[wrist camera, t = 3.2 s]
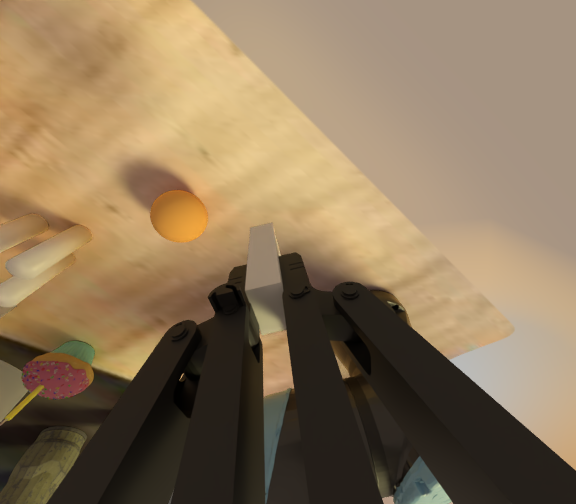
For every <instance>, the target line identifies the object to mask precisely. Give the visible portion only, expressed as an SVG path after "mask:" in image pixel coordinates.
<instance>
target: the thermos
mask: <svg viewBox="0 0 576 504" xmlns="http://www.w3.org/2000/svg"><path fill="white" fill-rule="evenodd" d="M86 439H87V435H86V434H85V433H84V432H83V431H81V430H79V429H76V428H73V427H67V426H54V427H49V428H46V429H44V430H43V431H42V432H41V433H40V434H39V436H38V438H37V439H36V441H35V442H34V443H33V444H32V445H31V446H30V447H29V448H28V449H27V451H26V452H25V454H24V455H23V456H22V458H21V459H20V461H19V462H18V463H17V465H16V466H15V468H14V470H13V471H12V473H11V475H10V477H9V480H8V482H7V484H6V486H5V487H4V488H3V490H2V491H1V493H0V504H46V503H47V502H48V500H49V499H50V497H51V496H52V495H53V493H54V492H55V490H56V489H57V487H58V486H59V485H60V483H61V482H62V480H63V479H64V477H65V476H66V475H67V473H68V472H69V470H70V469H71V467H72V466H73V464H74V462H75V460H76V459H77V457H78V455H79V453H80V449H81V447H82V446H83V444H84V443H85V441H86Z"/></svg>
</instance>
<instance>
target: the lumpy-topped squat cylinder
mask: <svg viewBox="0 0 576 504" xmlns="http://www.w3.org/2000/svg"><path fill="white" fill-rule="evenodd" d="M22 373H23V372H22V371H20V370H19V369H17V368H15V367H14V366H12V365H10V364H8V363H6V362H4V361H2V360H0V422H1V421H2V420H3V419H4V418H5V417H6V415H7V414H8V413H9V412H10V411H11V410H12V409H13V407H14V406H15V405H16V404H17V403H18V402H19V401H20V400H21V398H22V397H23V396H24V395H25V394H26V393H27V392H28V390H27V389H26V388H24V385H23V381H22V379H21V377H22Z"/></svg>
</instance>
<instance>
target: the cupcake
mask: <svg viewBox="0 0 576 504" xmlns="http://www.w3.org/2000/svg"><path fill="white" fill-rule="evenodd" d="M94 355H95V351H94V349H93V348H92V347H91V346H90V345H88V344H87V343H84V342H80V341H70V342H66V343H65V344H63V345H62V346H60V347H59V348H57V349H55V350H54V351H52V352H50V353H46V354H44V355H40V356H37V357H36V358H34V359H33V360H32V361H30V362H28V363H27V364H26V365H25V366H24V368H23V373H22V377H21V379H22V381H23V385H24V388H26V389H27V390H28V392H30V393H31V394H30V395H29V396H27V397H26V398H25V399H24V400H23V401H22V402H21V403H20V404H19V405H18V406H17V407H16V408H15V409H14V410H12V411H11V412H10V413H9V414H8V415H7V416H6V417H5V420H4V421H3V422H2V423H1V424H0V425H2V424H3V423H4V422H5V421H9V420H11V419H12V418H13V417H14V416H15V415H16V414H17V413H18V412H19V411H20V410H21V409H22V408H23V407H24V406H25V405H26V404H28V403H29V402H30V401H31V400H32V399H33V398H34V397H35V396H36V395H38V396H42V397H43V398H45V397H47V398H48V399H50V398H51V399H57V400H58V399H63V398H68V397H71V396H75V395H76V394H78V393H80V392H82V391H83V390H84V389H85V388H86V387H88V386H89V385H90V384H91V382H92V381H93V378H94V373H93V370H92V368H91V364H92V360H93V357H94Z"/></svg>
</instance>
